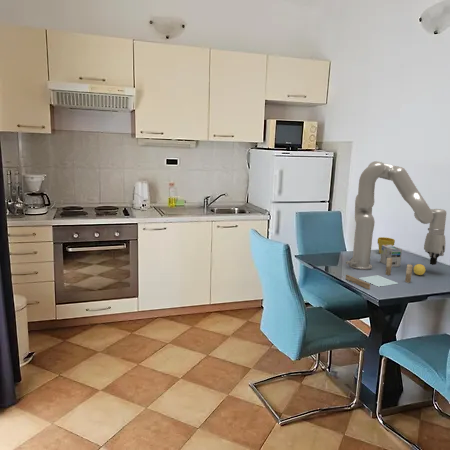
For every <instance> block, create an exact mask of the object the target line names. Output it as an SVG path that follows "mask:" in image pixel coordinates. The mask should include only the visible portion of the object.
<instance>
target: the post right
mask: <svg viewBox="0 0 450 450" xmlns="http://www.w3.org/2000/svg"><path fill="white" fill-rule="evenodd" d="M413 268H414V266H413V265H412V264H410V263H408V264H406V270H405V272H406V273H405V280H404V281H405V283H408V284H409V283H411V280H412V275H413Z"/></svg>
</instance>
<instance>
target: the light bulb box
mask: <svg viewBox="0 0 450 450" xmlns="http://www.w3.org/2000/svg"><path fill="white" fill-rule="evenodd" d="M402 252H403V249H402V248H400V247H398V246H395V245H393V246H392V245H382V249H381V254H380V259H379V260H380V261H379V262H380V263H382V264H383V265H385V266H386V264H387V258H392V266H391V268H393V267H394V268H395V267H398V268H399V267H401V261H402Z"/></svg>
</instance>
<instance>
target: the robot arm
mask: <svg viewBox="0 0 450 450" xmlns="http://www.w3.org/2000/svg"><path fill="white" fill-rule="evenodd" d="M379 178H380V179H383V180H388V181H391V182H393V184H394V186H395V187H396V189H397V191H398V192H399V194H400V196H401V198H403V200H404V201H405V202H406V203H407V204H408V205H409V206H410V207H411V209H412V210H413V212H414V213H413V216H414V218H415V219H416V220H417V221H418V222H420V223H421V224H423V225H428V224H429V226H428V227H427V231H428V232H427V234H426V236H425V238H424V239H425V240H424V244H423V250H424V252H425V253H427V254H428V255H429V258H430V259H429V265H432V266H435V265H437V263H438V258H439V257H444V255H445V254H444V253H445V251H446V235H445V231H446V230H445V229H446V220H447V210H445V209H441V208H430V206H429V204H428V203H427V202H426V200H425V198H424V196H422V194H421V192H420V191H419V189H418V188H417V186H416V184H415V183H414V182H413V180H412V178H411V176H410V175H409V173H408V171H407V170H406V169H405V168H404V167H402V166H397V165H393V164H390V163H385V162H382V161H377V160H376V161H372V162H370V163H369V164H368V166H367V167H366V168H365V169H364V170H362V173H361V174H360V176H359V180H358V192H357V194H356V196H355V200H354V222H355V229H354V230H355V231H354V239H353V251H352V258H351V259H350V260H346V261H345V264H346V265H348V266H349V267H350V268H353V269H356V270H363V271H364V270H367V271H368V270H371V269H372V268H373V265H372V264H370V263H371V253H372V246H373V245H372V244H373V234H374V229H375V223H376V222H375V217H374V215H373V207H374V205H375V188H376V187H375V186H376V182H377V180H378V179H379Z"/></svg>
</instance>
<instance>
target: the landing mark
mask: <svg viewBox="0 0 450 450" xmlns="http://www.w3.org/2000/svg"><path fill="white" fill-rule="evenodd" d="M358 278H359V280H362V281H364V282H365V281H366V283H369V284H370V283H371V284H370V285H372V284H373V285H372V286H375V287H377V286H378V288H380V286H381V287H386V286H394V285H399V282H397V281H394V280H392V279H388V278H386V277H383V276H381V275H378V274H377V275H370V276H363V277H358Z"/></svg>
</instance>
